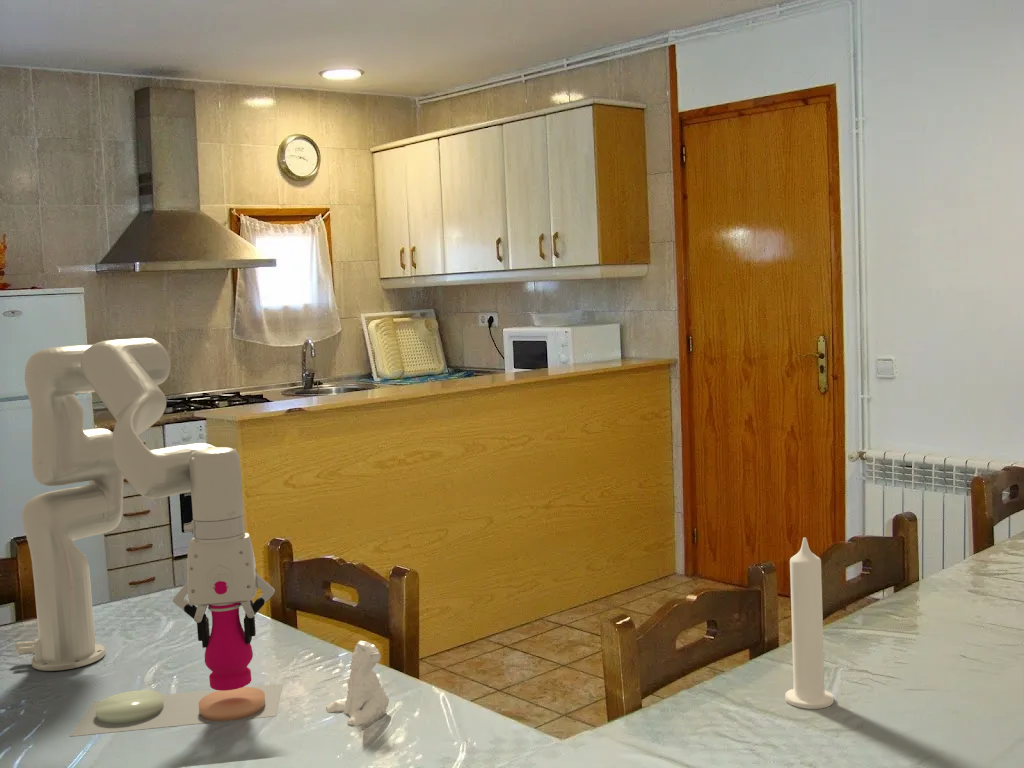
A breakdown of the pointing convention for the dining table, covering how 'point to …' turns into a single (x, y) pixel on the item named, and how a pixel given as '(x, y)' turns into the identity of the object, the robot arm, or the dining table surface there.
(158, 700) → the pale green domed disc
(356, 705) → the sitting furry creature
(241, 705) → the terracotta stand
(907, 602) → the dining table surface
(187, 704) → the board
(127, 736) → the dining table surface
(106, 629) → the dining table surface
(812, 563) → the candle
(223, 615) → the pepper mill
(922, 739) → the dining table surface
